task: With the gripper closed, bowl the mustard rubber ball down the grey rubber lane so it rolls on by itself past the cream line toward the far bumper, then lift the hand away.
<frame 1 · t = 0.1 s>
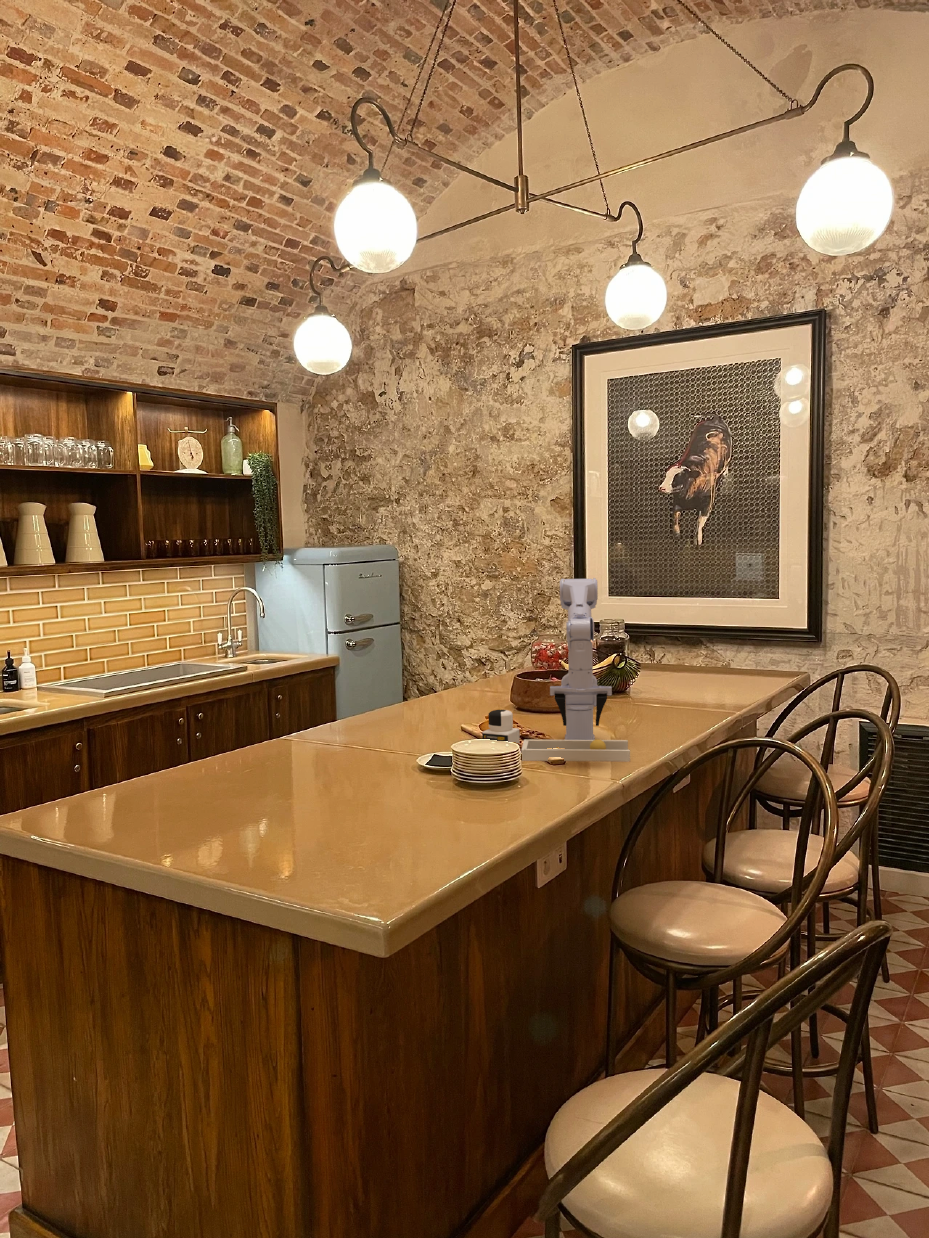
hand: (581, 724, 227), 10 cm above the worktop, fingers open, 7 cm apart
ball: (597, 755, 236), resting on lane
lane: (577, 756, 237), on the worktop
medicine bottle: (501, 758, 238), on the worktop
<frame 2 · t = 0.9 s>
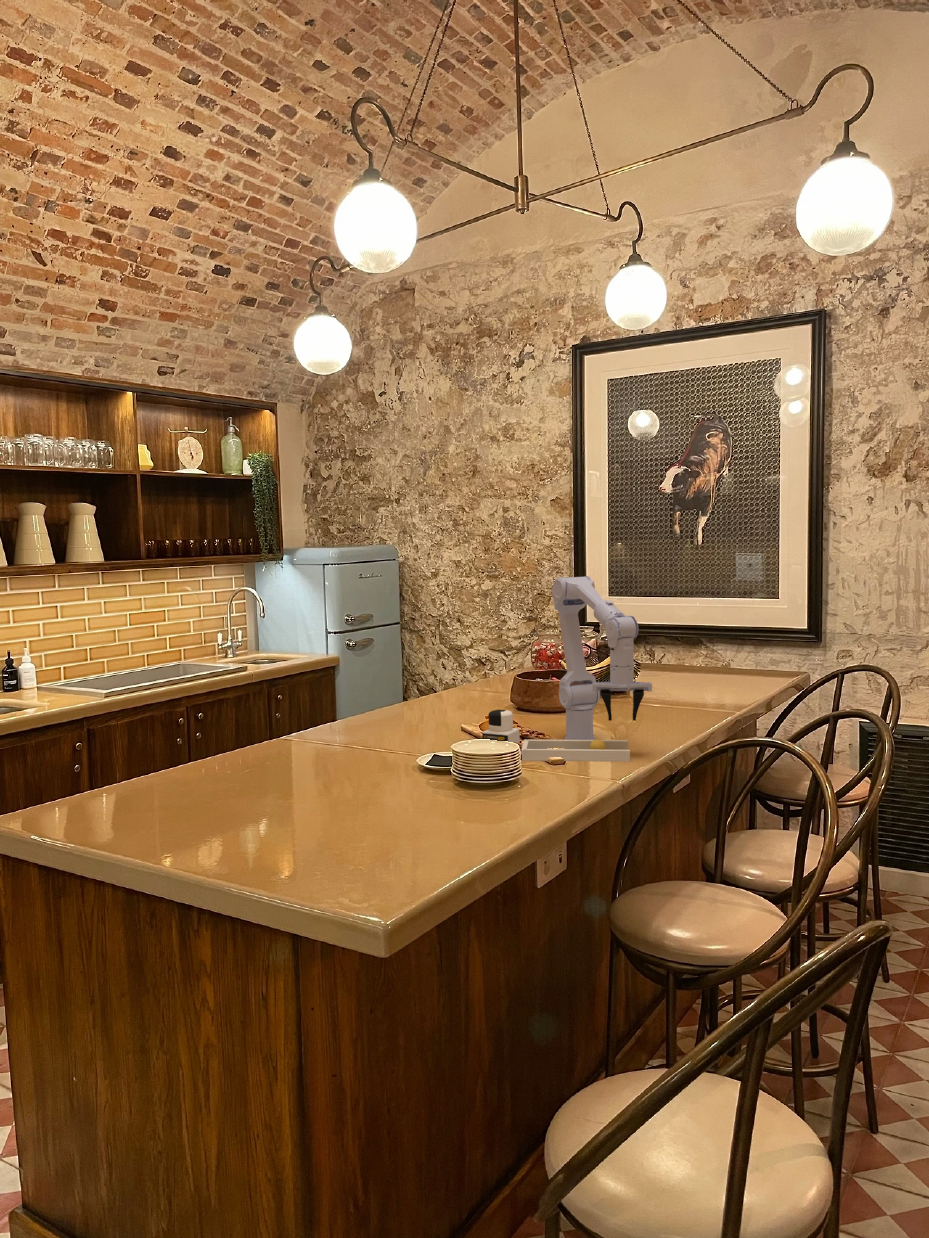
hand: (622, 719, 235), 9 cm above the worktop, fingers open, 5 cm apart
nothing on the worktop moved.
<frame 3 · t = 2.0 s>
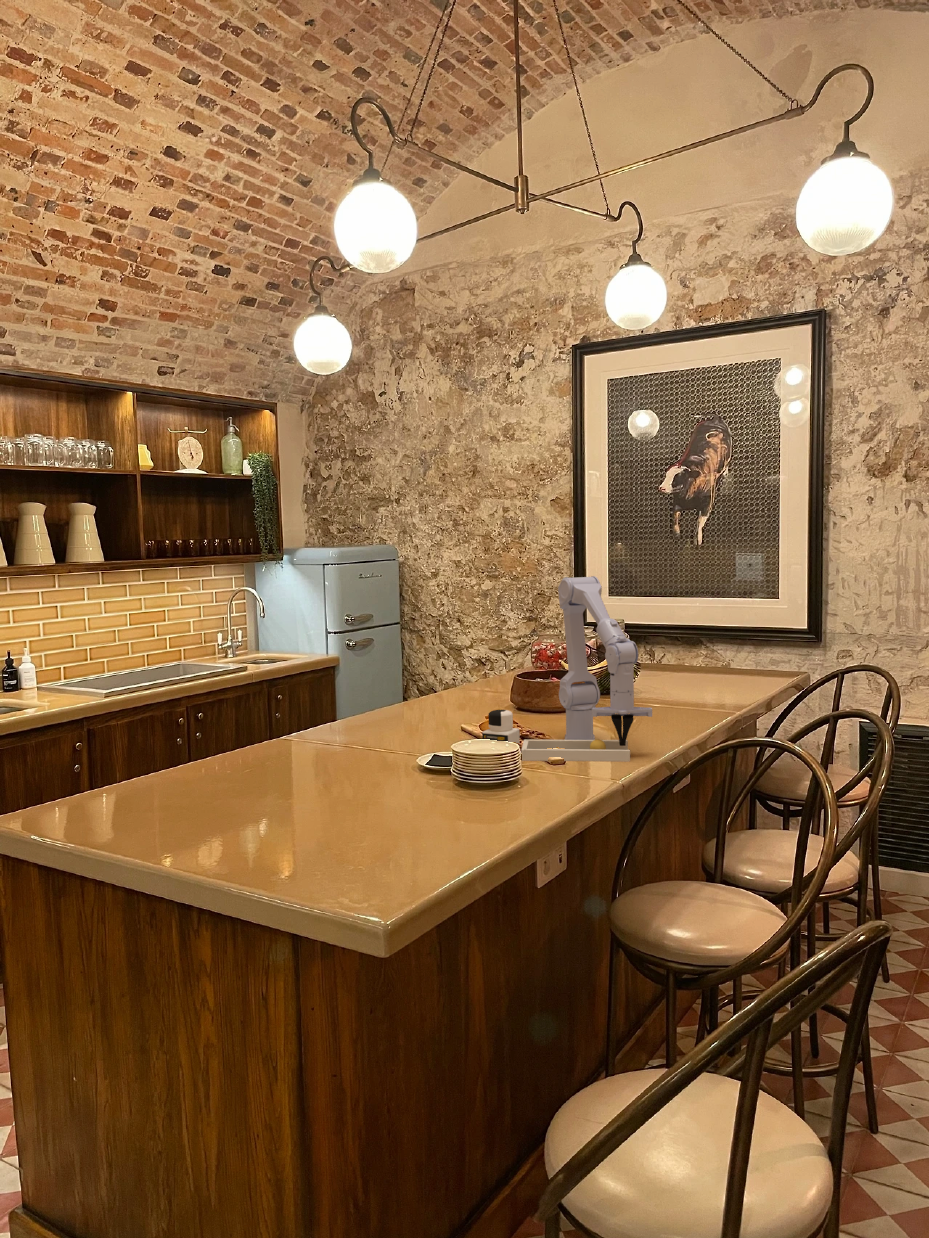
hand: (622, 744, 235), 3 cm above the worktop, fingers closed
nothing on the worktop moved.
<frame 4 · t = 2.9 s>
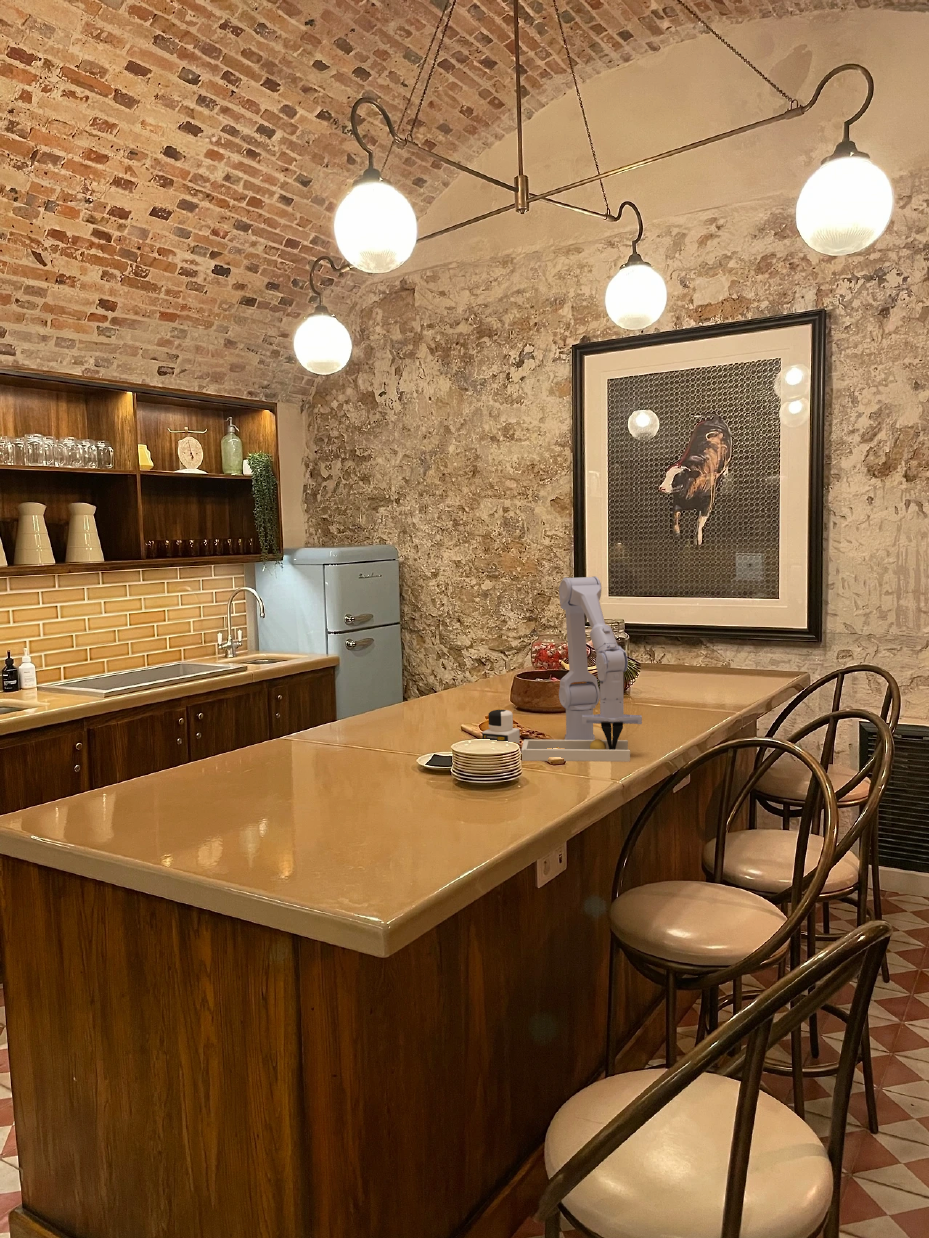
hand: (612, 752, 236), 1 cm above the worktop, fingers closed
nothing on the worktop moved.
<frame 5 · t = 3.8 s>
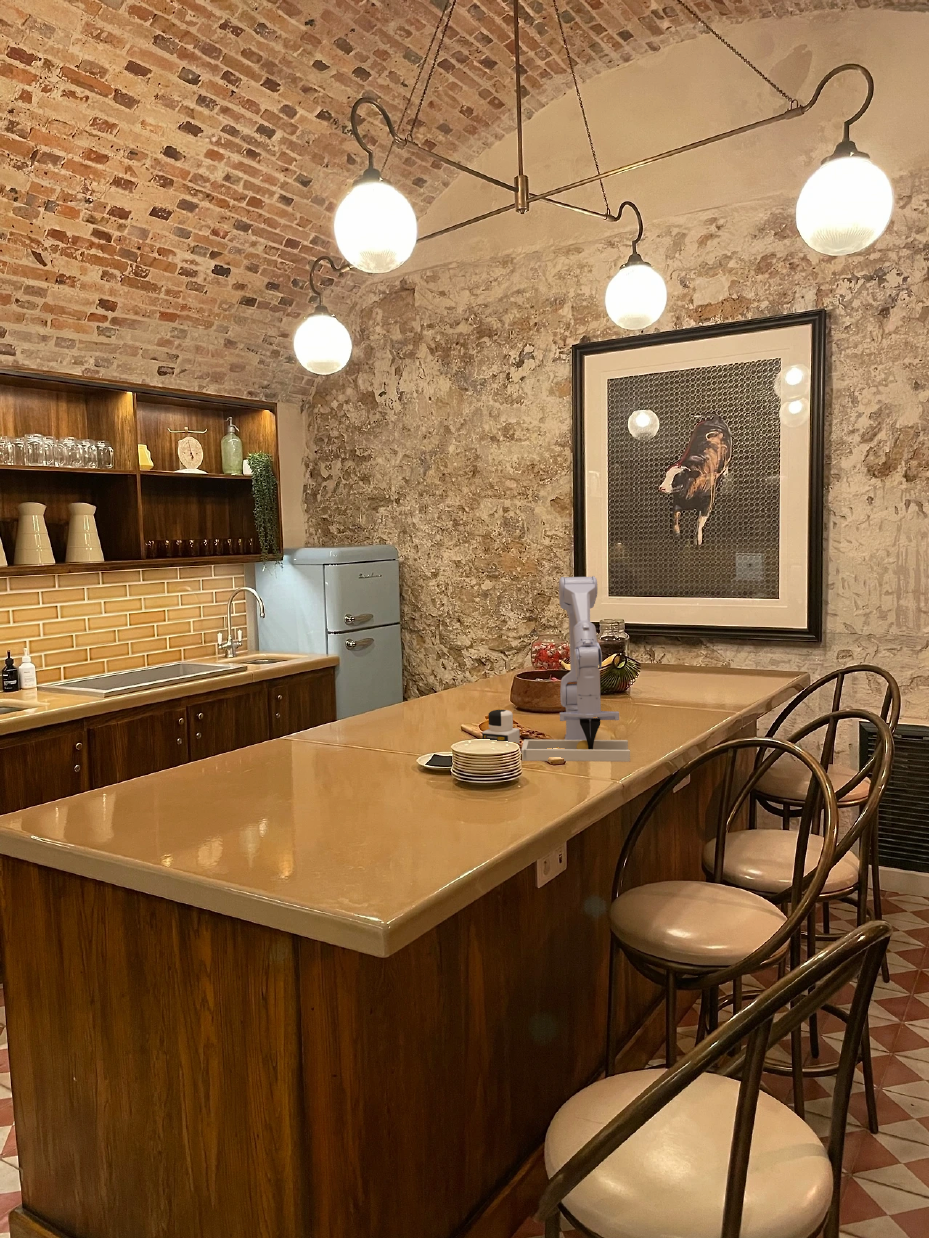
hand: (590, 749, 235), 2 cm above the worktop, fingers closed, pressing on ball
ball: (592, 746, 236), point 3 cm above the worktop, tilted 99°, touching gripper, lane
everything else where it was.
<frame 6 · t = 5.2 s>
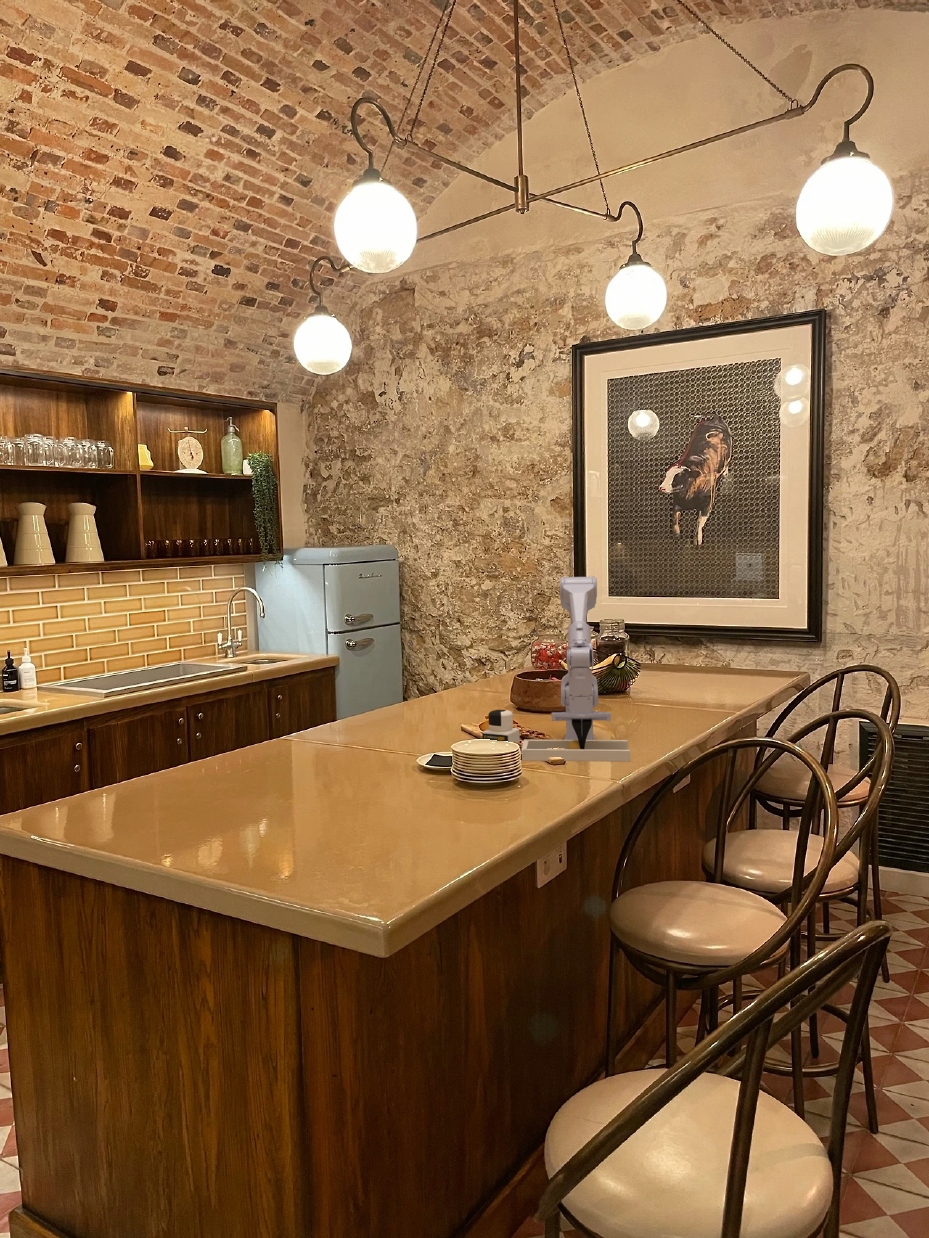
hand: (581, 749, 236), 2 cm above the worktop, fingers closed, pressing on ball
ball: (578, 740, 237), point 4 cm above the worktop, tilted 157°, touching gripper, lane
everything else where it was.
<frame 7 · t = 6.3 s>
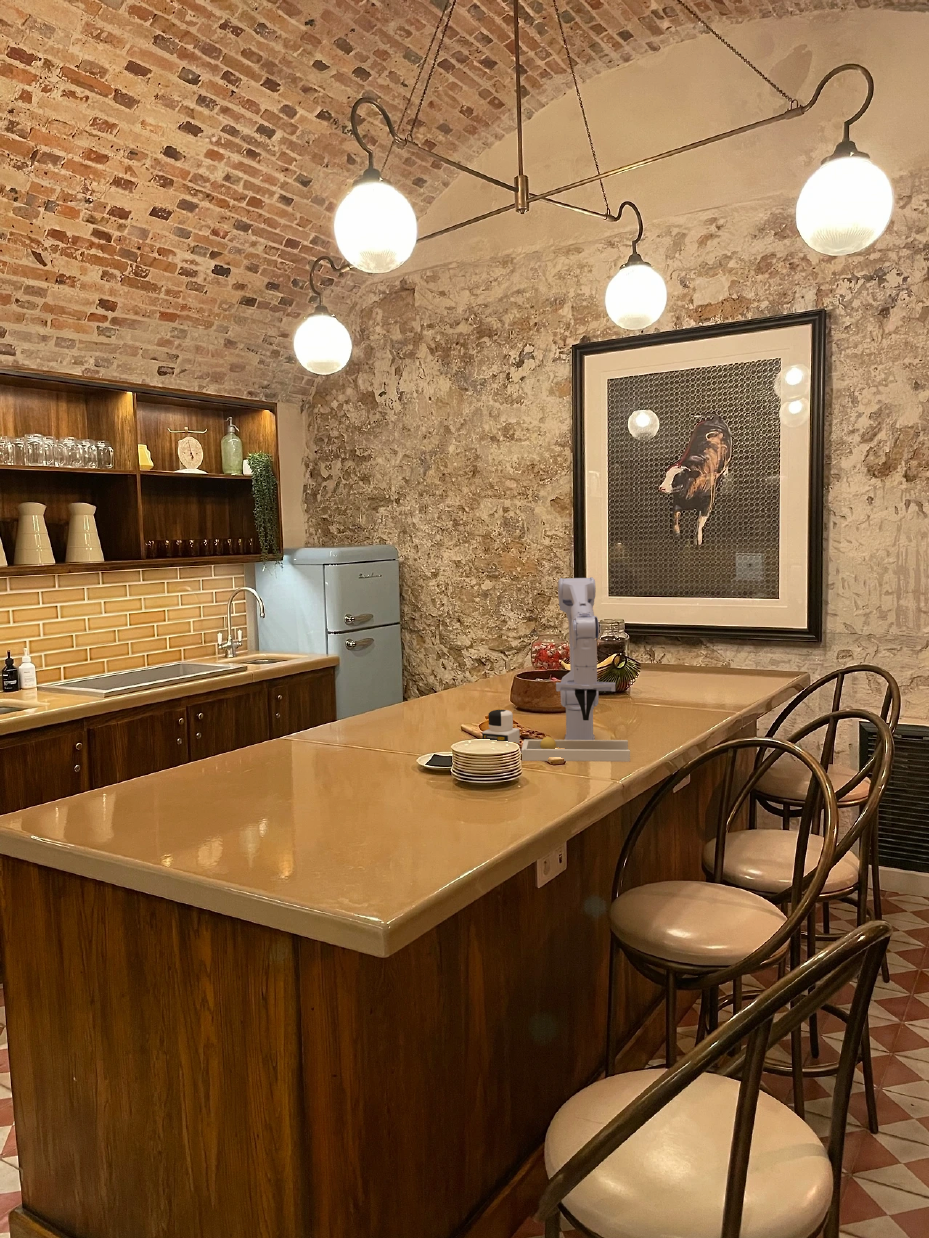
hand: (585, 719, 236), 9 cm above the worktop, fingers closed
ball: (551, 751, 240), point 1 cm above the worktop, tilted 26°, touching lane
everything else where it was.
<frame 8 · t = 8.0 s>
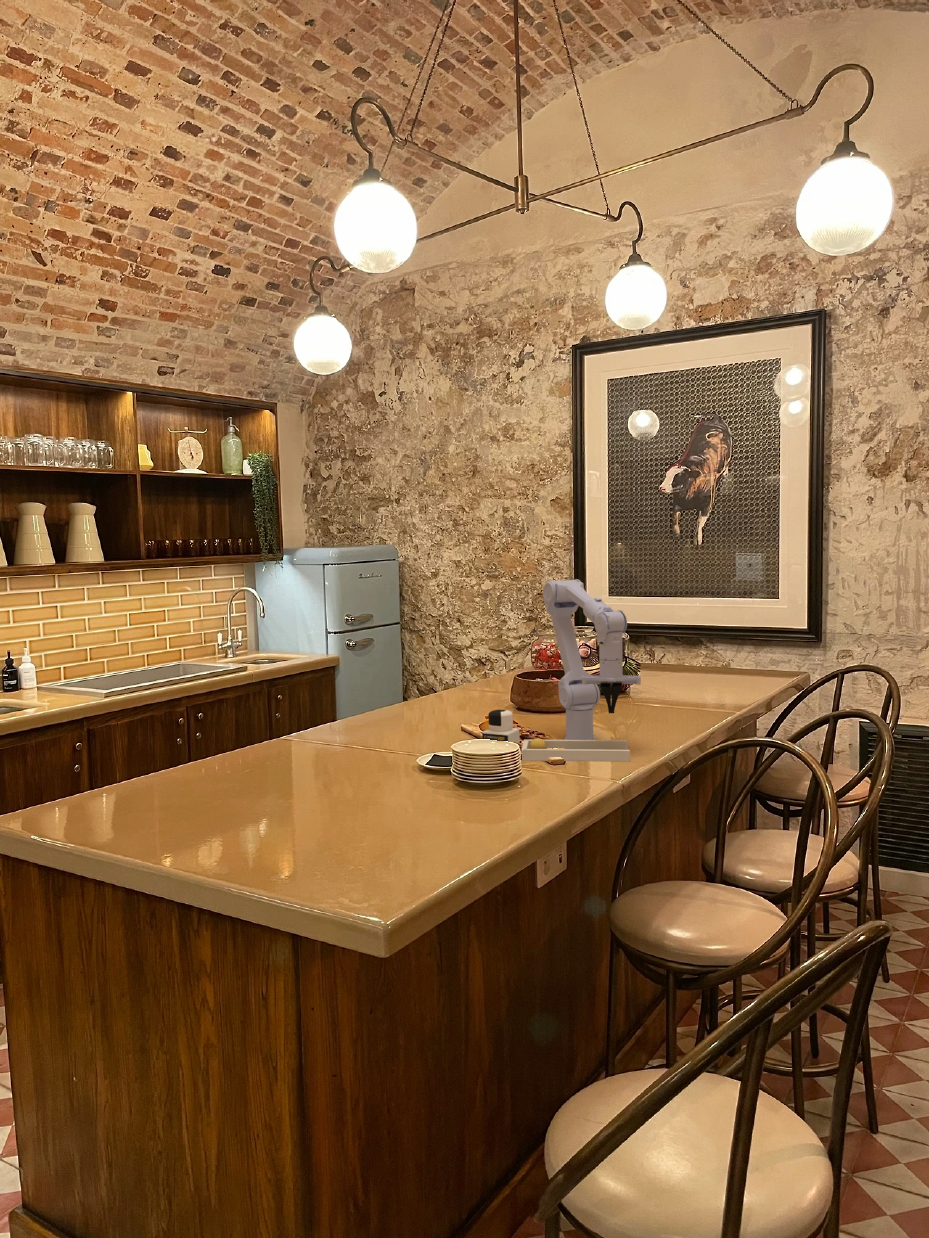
hand: (611, 712, 239), 10 cm above the worktop, fingers closed
ball: (545, 743, 239), point 3 cm above the worktop, tilted 107°, touching lane
everything else where it was.
at the end: ball inside the target area (1.9 cm from its centre), point 3.1 cm above the worktop; the gripper is holding nothing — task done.
